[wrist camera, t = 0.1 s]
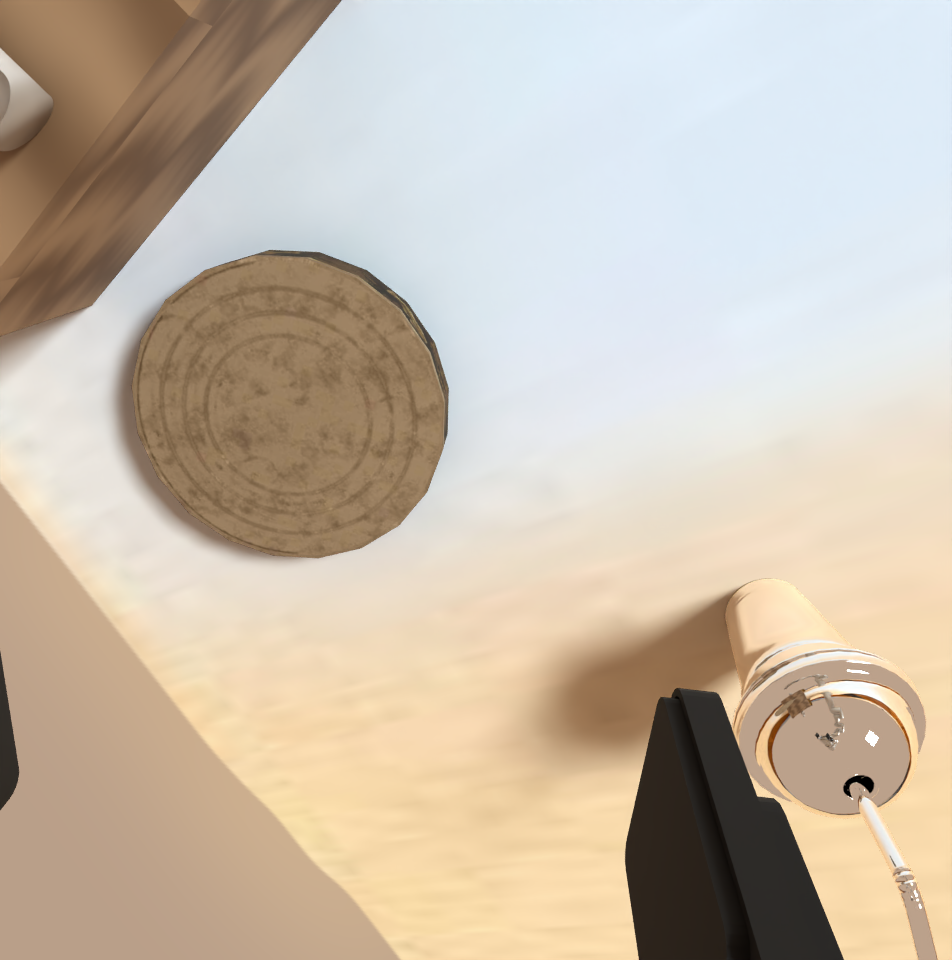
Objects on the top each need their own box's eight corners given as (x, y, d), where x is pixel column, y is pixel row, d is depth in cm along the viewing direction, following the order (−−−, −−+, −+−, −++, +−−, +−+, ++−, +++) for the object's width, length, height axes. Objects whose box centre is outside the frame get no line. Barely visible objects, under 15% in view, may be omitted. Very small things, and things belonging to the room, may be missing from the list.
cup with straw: (862, 560, 44) (1112, 852, 25) (811, 692, 47) (998, 1034, 29) (712, 535, 44) (851, 810, 25) (672, 669, 47) (768, 997, 29)
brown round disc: (364, 193, 38) (351, 195, 36) (498, 472, 43) (496, 493, 41) (99, 327, 42) (69, 339, 39) (253, 572, 47) (235, 598, 44)
